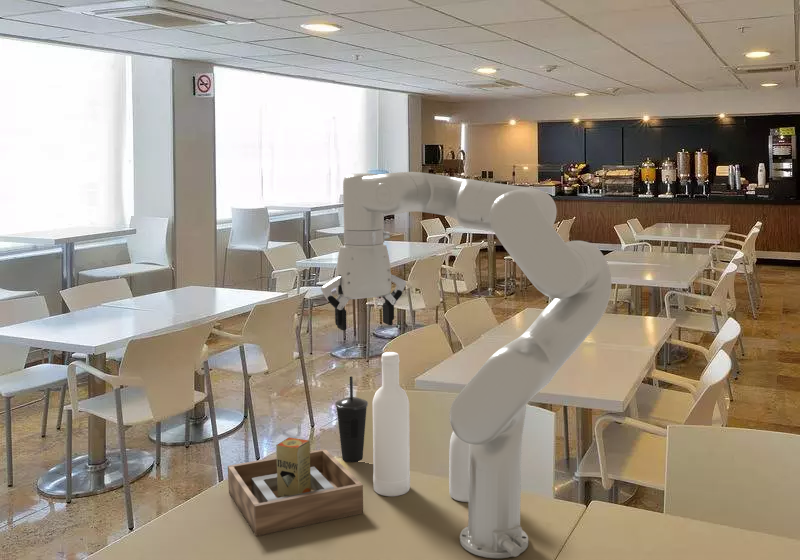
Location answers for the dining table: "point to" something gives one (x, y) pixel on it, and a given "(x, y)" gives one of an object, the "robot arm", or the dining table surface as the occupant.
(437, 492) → the dining table surface
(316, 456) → the walnut crate
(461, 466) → the milk bottle
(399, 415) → the bottle
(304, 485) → the shoe polish box
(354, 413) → the drinking cup
